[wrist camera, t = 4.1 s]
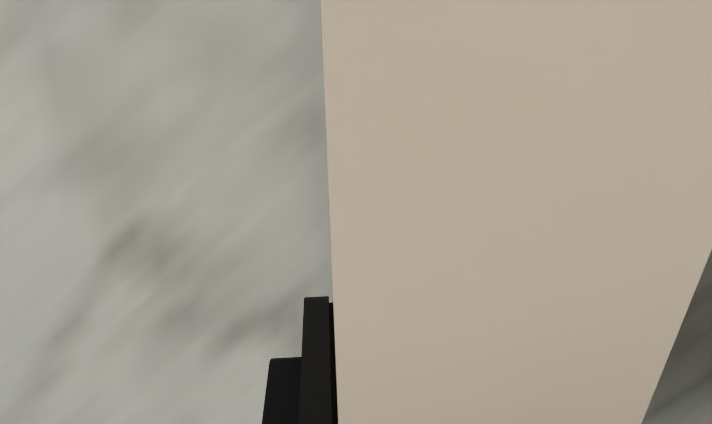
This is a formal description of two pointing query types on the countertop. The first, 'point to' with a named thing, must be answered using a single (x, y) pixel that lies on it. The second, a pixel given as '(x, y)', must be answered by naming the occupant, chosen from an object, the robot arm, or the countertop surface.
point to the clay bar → (514, 204)
